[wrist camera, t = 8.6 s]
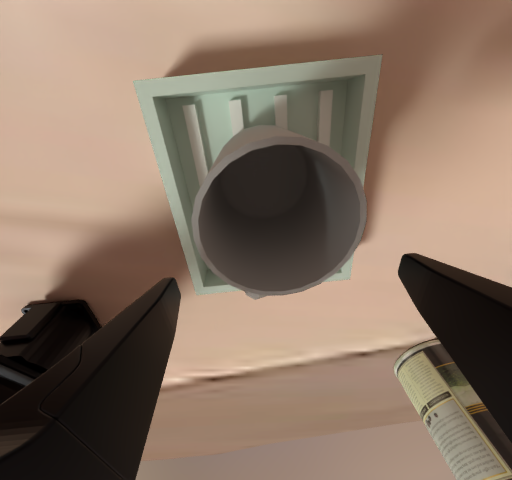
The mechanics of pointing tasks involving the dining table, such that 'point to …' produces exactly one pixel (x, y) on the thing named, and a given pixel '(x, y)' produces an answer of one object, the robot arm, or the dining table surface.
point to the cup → (278, 212)
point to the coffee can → (454, 414)
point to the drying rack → (249, 115)
